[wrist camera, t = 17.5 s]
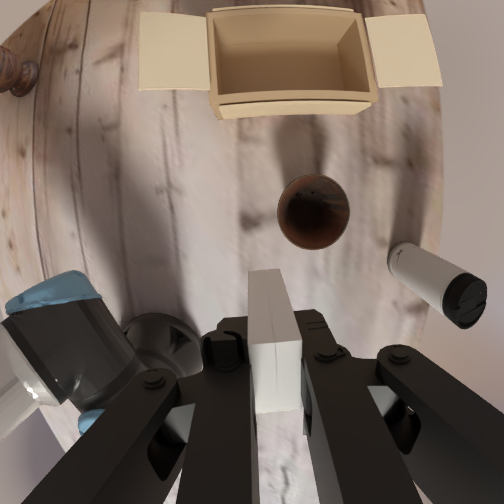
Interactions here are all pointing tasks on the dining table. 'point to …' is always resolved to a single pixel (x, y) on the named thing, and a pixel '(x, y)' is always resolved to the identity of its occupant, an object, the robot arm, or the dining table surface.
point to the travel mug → (439, 283)
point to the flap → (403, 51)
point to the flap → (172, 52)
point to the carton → (288, 61)
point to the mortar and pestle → (16, 73)
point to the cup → (313, 212)
